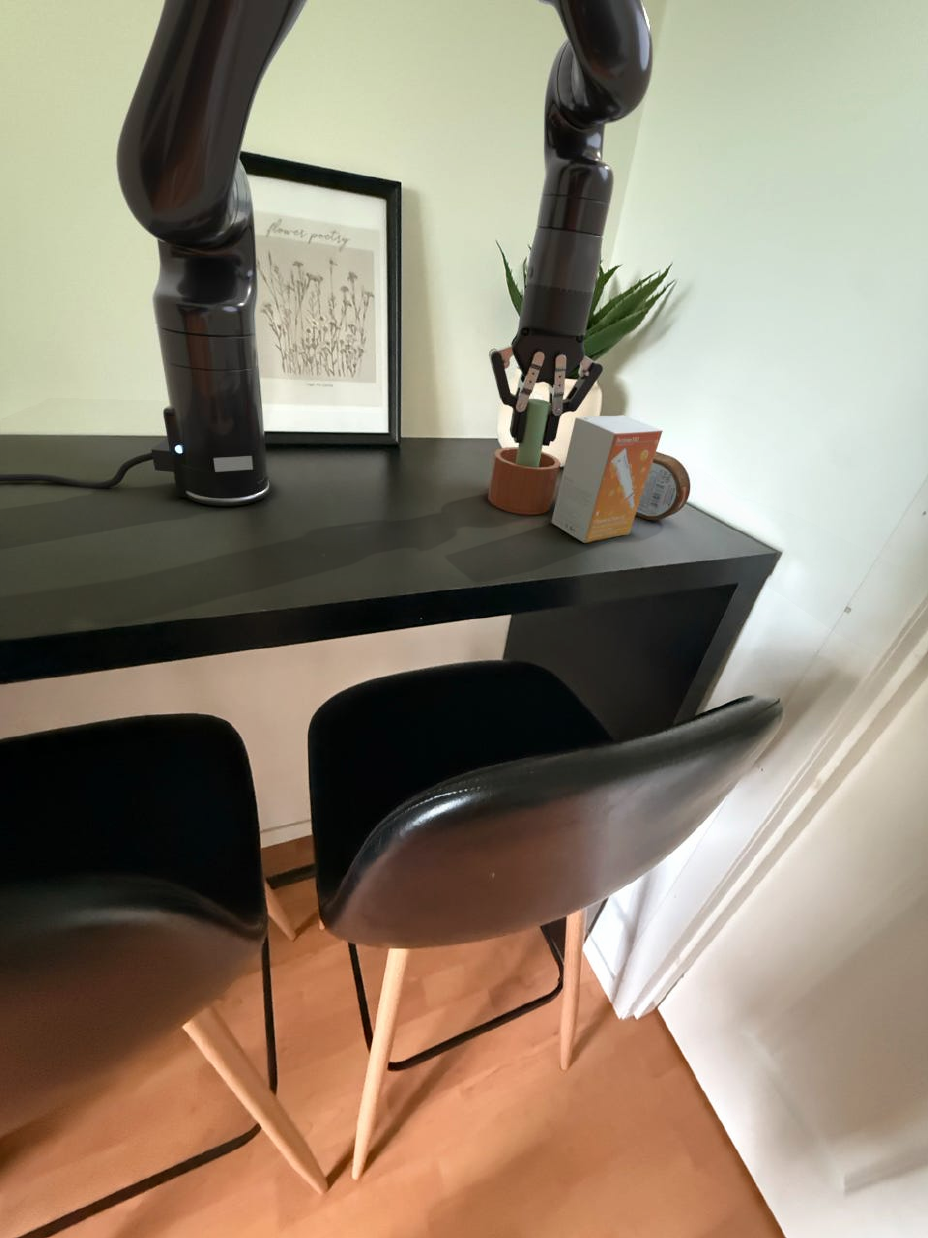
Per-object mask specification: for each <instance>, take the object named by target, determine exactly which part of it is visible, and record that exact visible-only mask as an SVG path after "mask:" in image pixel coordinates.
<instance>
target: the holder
mask: <svg viewBox="0 0 928 1238" xmlns="http://www.w3.org/2000/svg"><path fill="white" fill-rule="evenodd" d="M517 451H518V446H510V447H507V446H505V447H502V448H498V449H497V450H496V451H494V453H493V459H492V460H493V461H492V467H491V474H490V480H489V485H488V486H489V487H488V496H487V499H488V501H489V503H491V505H493V506H495V507H496V508H498V509H500V510H503V511H505V512H507V513H513V514H517V515H523V516H524V515H526V516H535V515H542V514H546V513H548V512H549V511H550V510H551V508H552V504H553V501H554V496H555V492H556V486H557V482H558V477H559V473H560V468H561V464H562V463H561V461H560V460H559V458H557V457H555V456H554V455H552V454H550V453H547V452H545V451H542V452H541V457H540V462H539V467H538V468H536V467H526V466H522V465H517V464H515V463H516V457H517Z"/></svg>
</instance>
